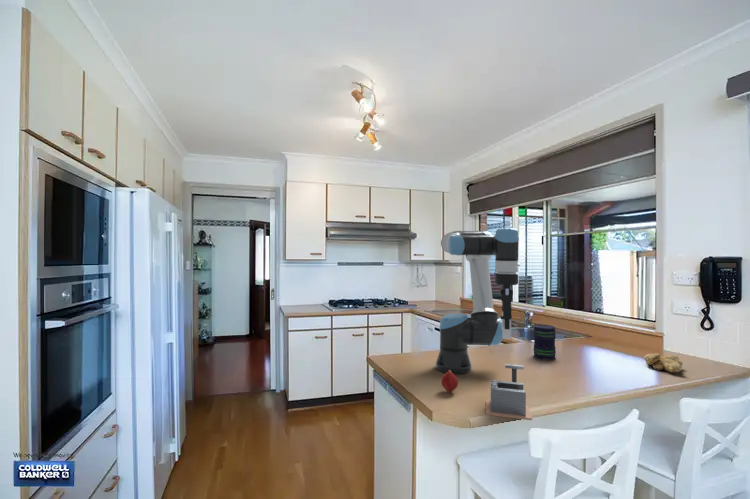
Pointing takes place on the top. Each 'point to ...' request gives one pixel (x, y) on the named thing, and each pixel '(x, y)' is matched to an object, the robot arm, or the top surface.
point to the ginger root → (664, 362)
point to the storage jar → (544, 342)
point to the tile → (488, 412)
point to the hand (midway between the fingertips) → (506, 334)
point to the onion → (449, 381)
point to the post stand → (514, 370)
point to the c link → (508, 398)
